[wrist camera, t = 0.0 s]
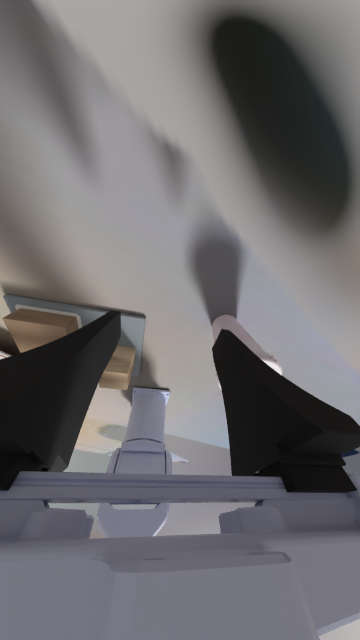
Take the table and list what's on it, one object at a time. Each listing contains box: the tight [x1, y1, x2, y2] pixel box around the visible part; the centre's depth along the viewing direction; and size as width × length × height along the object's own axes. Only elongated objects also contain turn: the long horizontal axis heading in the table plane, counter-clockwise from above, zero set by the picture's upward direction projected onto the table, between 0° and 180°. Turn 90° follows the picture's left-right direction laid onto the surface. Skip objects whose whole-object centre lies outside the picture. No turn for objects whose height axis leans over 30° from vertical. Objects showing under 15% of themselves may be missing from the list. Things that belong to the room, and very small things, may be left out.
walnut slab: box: [2, 308, 78, 353], centre depth 21 cm, size 7×7×2 cm
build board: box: [3, 294, 146, 378], centre depth 24 cm, size 14×18×1 cm
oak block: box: [99, 345, 136, 390], centre depth 23 cm, size 4×4×5 cm
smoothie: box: [212, 314, 282, 390], centre depth 17 cm, size 6×6×14 cm
